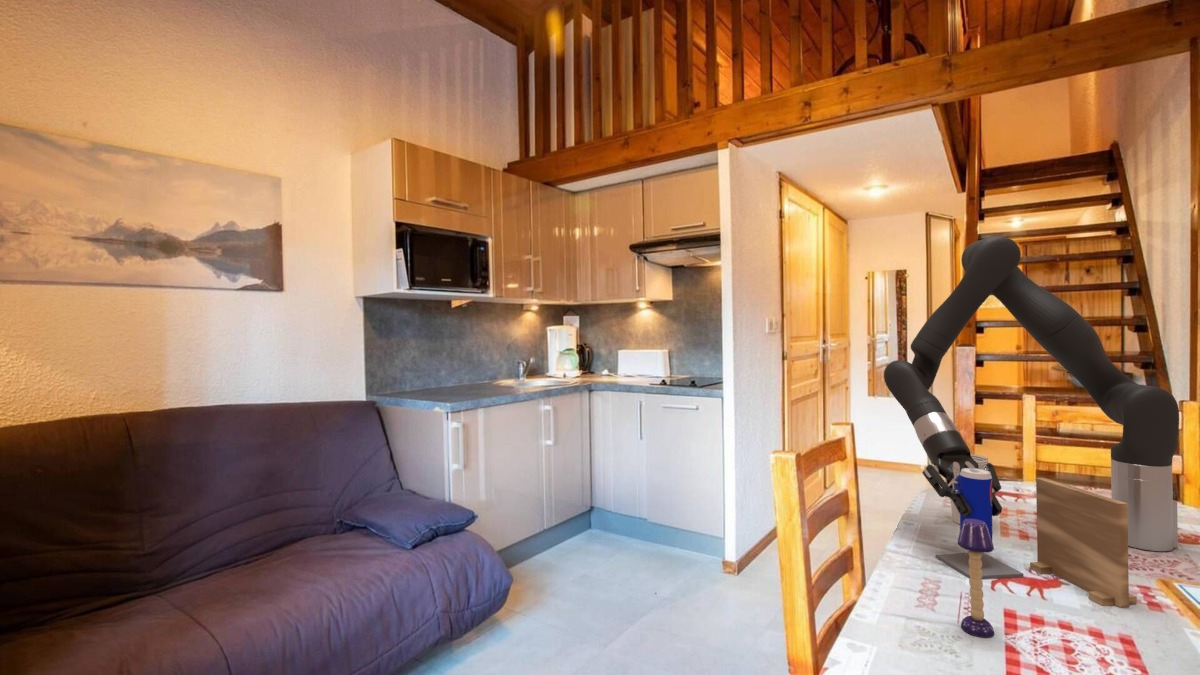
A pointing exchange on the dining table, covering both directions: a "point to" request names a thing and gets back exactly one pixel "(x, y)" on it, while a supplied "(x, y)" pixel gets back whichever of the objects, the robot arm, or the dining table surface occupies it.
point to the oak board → (1083, 541)
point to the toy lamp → (976, 574)
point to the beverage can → (977, 495)
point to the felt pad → (989, 567)
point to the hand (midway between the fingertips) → (982, 514)
